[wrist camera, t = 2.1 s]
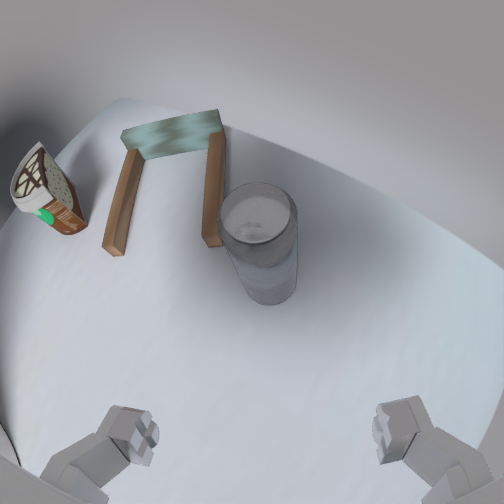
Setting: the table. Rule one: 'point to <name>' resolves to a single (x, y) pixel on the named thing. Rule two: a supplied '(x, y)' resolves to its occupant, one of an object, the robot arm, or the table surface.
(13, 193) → the food container
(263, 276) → the drinking glass
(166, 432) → the table surface
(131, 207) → the keeper cradle
